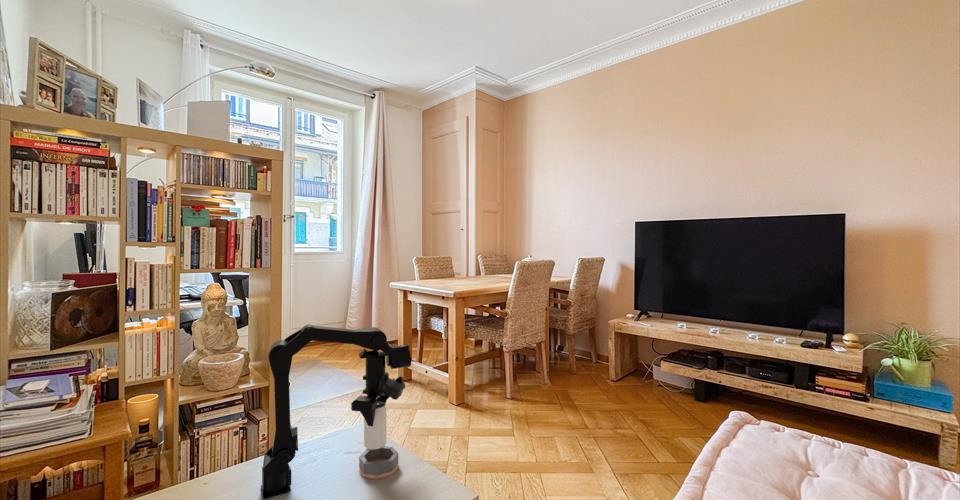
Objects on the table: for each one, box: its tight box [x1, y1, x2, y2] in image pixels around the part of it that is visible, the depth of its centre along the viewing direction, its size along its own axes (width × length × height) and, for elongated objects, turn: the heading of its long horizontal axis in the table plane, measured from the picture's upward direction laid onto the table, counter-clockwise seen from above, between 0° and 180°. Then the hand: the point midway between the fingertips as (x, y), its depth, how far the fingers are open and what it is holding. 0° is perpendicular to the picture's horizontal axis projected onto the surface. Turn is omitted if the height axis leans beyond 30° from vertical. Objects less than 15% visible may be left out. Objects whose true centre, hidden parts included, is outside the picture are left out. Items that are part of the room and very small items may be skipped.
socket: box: [358, 445, 399, 480], centre depth 119 cm, size 11×11×4 cm
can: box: [363, 401, 388, 450], centre depth 119 cm, size 6×6×12 cm
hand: (375, 423), depth 119 cm, fingers closed on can, 5 cm apart
